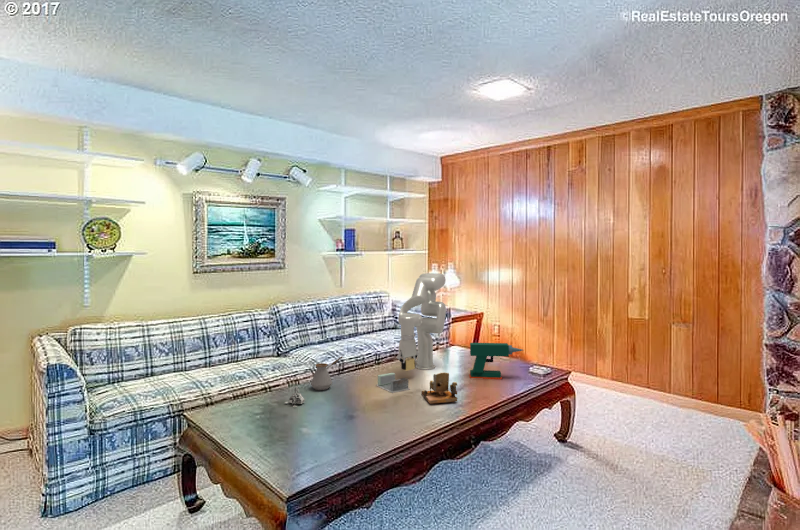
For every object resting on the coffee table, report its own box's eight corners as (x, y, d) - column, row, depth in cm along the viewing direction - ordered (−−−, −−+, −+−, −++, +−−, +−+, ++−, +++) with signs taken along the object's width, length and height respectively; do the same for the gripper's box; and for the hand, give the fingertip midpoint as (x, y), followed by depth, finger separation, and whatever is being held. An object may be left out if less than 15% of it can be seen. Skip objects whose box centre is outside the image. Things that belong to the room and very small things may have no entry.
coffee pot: (319, 392, 238) (319, 364, 238) (306, 388, 245) (306, 360, 245) (350, 384, 254) (350, 357, 253) (337, 380, 261) (336, 354, 261)
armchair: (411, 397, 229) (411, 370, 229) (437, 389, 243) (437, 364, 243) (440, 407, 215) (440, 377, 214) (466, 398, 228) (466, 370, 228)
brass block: (402, 369, 262) (401, 359, 261) (410, 367, 265) (410, 357, 265) (406, 370, 258) (405, 360, 258) (414, 368, 262) (414, 358, 261)
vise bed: (376, 386, 250) (376, 375, 249) (392, 382, 256) (392, 372, 256) (392, 393, 236) (392, 382, 236) (409, 389, 243) (409, 378, 243)
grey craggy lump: (279, 405, 218) (279, 389, 218) (289, 399, 227) (289, 384, 227) (295, 407, 216) (295, 391, 215) (305, 401, 224) (305, 386, 224)
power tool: (523, 377, 268) (523, 343, 267) (525, 380, 261) (525, 345, 260) (469, 375, 271) (469, 342, 270) (469, 379, 264) (469, 344, 263)
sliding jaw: (377, 384, 249) (377, 375, 249) (392, 381, 255) (392, 372, 255) (380, 385, 247) (380, 376, 247) (395, 382, 253) (395, 373, 253)
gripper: (415, 334, 268) (416, 364, 270) (391, 338, 259) (392, 369, 260) (423, 336, 262) (424, 366, 263) (399, 340, 252) (399, 372, 254)
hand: (408, 367), depth 262 cm, fingers closed on brass block, 6 cm apart
